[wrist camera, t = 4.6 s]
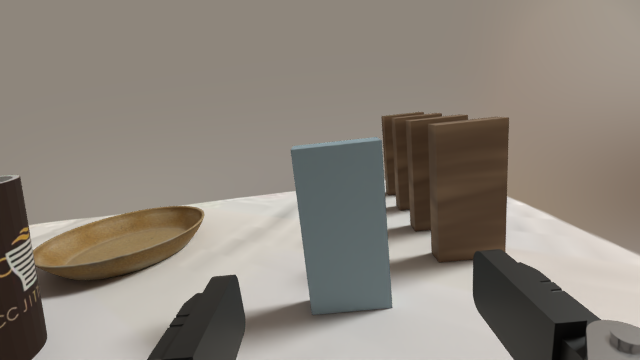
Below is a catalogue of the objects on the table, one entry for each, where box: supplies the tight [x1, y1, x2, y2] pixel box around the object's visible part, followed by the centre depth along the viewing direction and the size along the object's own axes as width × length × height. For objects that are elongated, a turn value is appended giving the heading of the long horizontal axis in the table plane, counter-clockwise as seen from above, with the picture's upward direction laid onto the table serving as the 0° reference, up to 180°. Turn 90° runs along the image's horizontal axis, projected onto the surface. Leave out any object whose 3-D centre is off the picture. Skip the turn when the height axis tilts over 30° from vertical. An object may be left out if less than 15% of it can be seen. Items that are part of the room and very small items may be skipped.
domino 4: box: [406, 115, 468, 231], centre depth 29 cm, size 2×5×10 cm, turn 89°
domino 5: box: [428, 117, 509, 262], centre depth 23 cm, size 2×5×10 cm, turn 90°
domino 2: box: [382, 112, 424, 195], centre depth 40 cm, size 2×5×10 cm, turn 90°
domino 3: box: [392, 113, 442, 210], centre depth 35 cm, size 2×5×10 cm, turn 90°
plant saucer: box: [33, 206, 204, 280], centre depth 32 cm, size 15×15×3 cm
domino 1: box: [291, 137, 392, 315], centre depth 19 cm, size 2×5×10 cm, turn 90°
